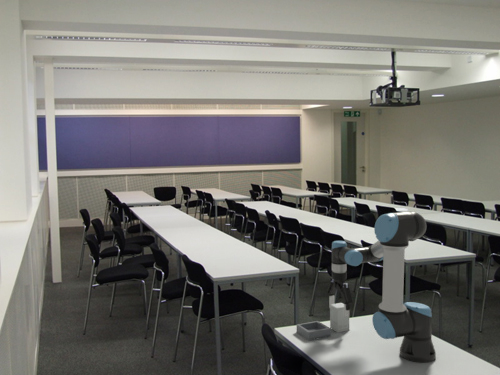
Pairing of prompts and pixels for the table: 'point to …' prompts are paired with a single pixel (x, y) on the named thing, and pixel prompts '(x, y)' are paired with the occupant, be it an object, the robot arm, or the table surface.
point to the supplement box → (338, 318)
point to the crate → (313, 330)
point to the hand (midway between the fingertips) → (339, 312)
